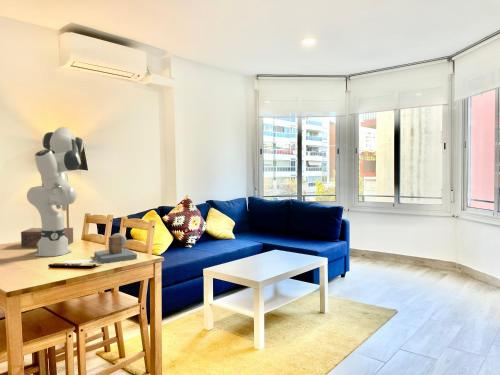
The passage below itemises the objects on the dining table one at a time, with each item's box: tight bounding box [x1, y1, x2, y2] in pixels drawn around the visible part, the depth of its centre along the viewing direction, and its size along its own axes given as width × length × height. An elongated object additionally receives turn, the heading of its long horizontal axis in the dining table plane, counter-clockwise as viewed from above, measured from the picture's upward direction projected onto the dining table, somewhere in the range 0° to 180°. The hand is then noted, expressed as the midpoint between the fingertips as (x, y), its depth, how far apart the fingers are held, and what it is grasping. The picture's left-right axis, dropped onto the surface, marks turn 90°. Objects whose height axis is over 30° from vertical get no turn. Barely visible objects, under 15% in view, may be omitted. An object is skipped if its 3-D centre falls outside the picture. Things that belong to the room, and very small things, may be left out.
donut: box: [110, 232, 127, 249], centre depth 233 cm, size 10×3×10 cm, turn 108°
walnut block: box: [108, 235, 123, 255], centre depth 212 cm, size 5×5×9 cm
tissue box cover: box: [20, 227, 74, 248], centre depth 245 cm, size 26×14×10 cm, turn 96°
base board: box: [93, 247, 138, 264], centre depth 213 cm, size 18×18×2 cm
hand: (61, 209), depth 192 cm, fingers open, 8 cm apart
